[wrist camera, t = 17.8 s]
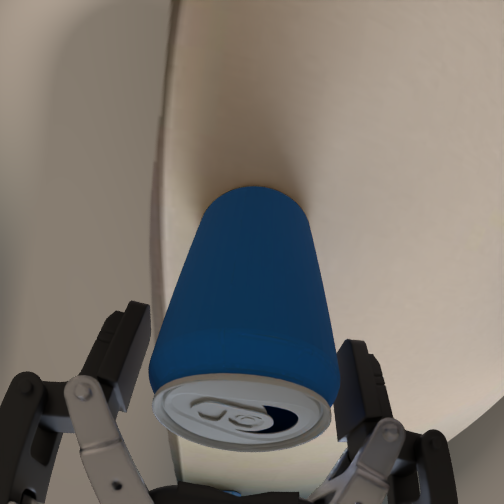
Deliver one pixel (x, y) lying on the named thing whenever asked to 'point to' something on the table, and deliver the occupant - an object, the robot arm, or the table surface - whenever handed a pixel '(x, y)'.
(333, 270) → the table surface
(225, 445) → the beverage can
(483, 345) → the table surface
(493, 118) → the table surface
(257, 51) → the table surface
